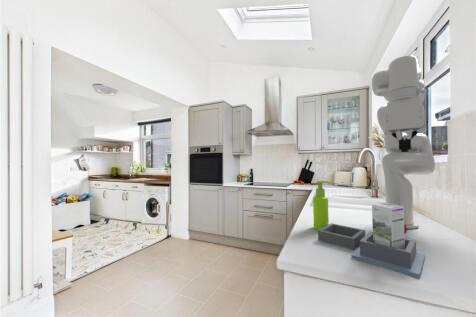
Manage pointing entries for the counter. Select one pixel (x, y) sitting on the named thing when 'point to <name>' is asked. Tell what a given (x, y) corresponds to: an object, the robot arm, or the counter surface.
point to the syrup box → (388, 225)
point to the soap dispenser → (320, 207)
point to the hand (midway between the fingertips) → (405, 151)
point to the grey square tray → (341, 236)
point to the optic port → (391, 256)
